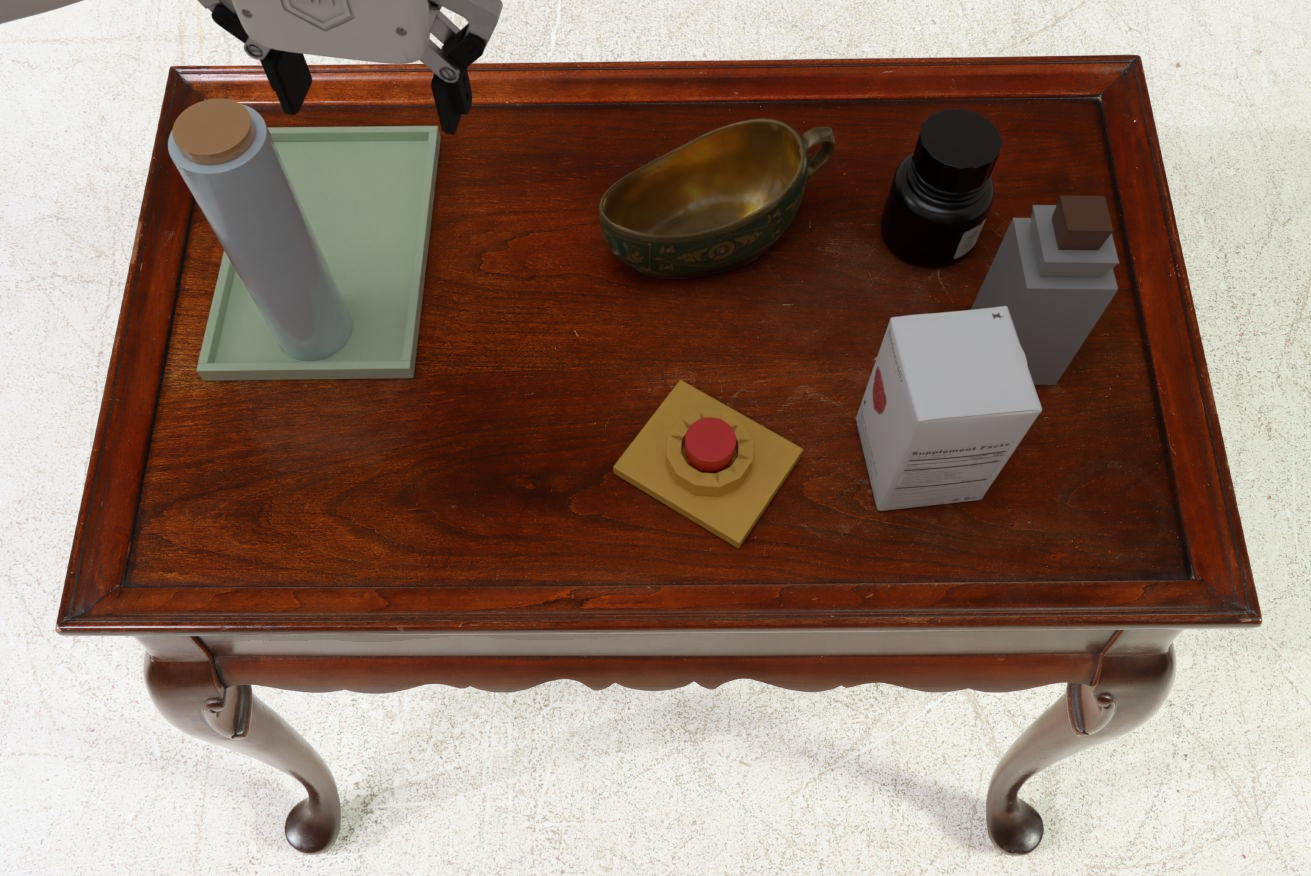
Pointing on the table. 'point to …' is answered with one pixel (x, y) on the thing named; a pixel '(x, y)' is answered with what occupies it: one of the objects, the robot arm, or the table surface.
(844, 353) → the table surface
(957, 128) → the ink bottle
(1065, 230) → the perfume bottle
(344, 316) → the grey cylinder
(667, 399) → the block
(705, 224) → the cup
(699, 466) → the button
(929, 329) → the white product box
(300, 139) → the tray
